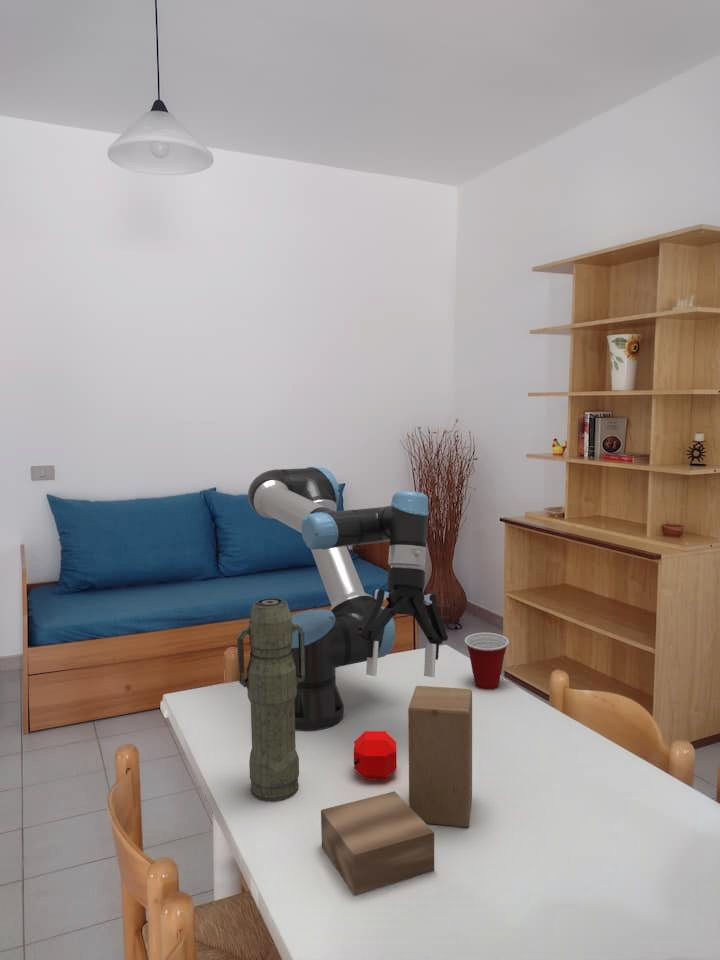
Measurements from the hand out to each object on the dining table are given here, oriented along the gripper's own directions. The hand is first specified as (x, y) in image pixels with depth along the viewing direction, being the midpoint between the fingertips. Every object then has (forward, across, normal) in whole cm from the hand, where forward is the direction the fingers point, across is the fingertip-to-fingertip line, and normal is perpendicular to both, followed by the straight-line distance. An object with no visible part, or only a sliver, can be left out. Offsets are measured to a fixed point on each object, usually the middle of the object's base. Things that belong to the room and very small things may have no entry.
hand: (400, 676), depth 142 cm
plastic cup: (+4, +40, +23) cm, 46 cm away
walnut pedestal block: (+25, -17, -22) cm, 37 cm away
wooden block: (+21, -1, -16) cm, 26 cm away
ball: (+18, -4, 0) cm, 19 cm away
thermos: (+21, -23, +5) cm, 31 cm away
